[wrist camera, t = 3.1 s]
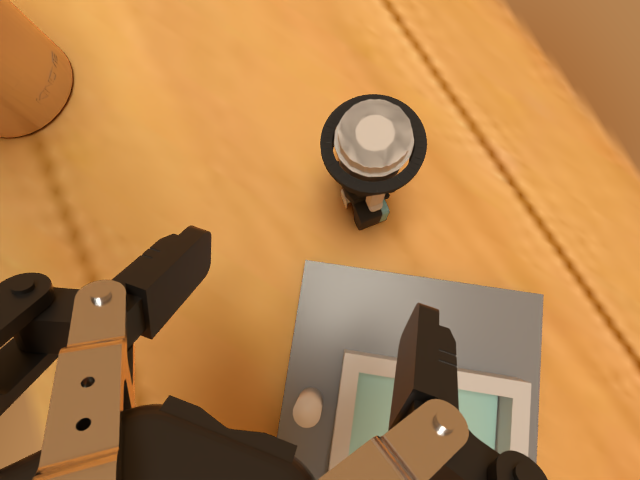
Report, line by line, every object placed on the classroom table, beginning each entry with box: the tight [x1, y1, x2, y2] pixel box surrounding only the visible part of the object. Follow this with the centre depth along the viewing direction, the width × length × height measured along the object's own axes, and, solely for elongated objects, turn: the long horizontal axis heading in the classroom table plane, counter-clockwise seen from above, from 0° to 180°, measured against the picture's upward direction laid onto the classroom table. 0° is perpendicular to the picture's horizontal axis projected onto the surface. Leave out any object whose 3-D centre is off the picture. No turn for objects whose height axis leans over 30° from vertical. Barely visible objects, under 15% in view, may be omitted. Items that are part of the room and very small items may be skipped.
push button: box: [320, 94, 427, 230], centre depth 23 cm, size 7×5×10 cm
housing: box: [277, 260, 543, 480], centre depth 22 cm, size 16×20×4 cm
